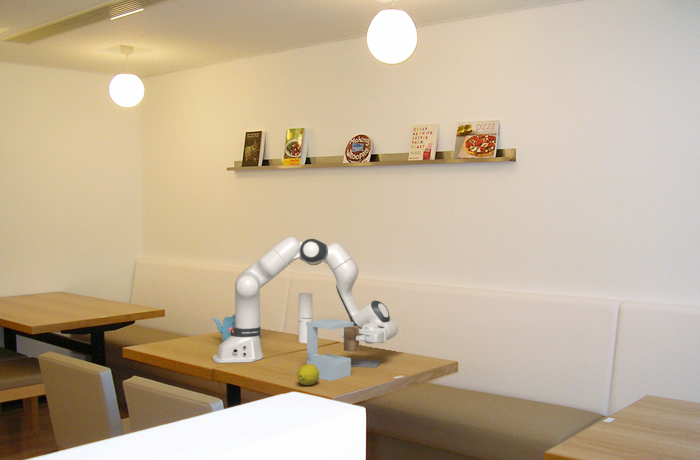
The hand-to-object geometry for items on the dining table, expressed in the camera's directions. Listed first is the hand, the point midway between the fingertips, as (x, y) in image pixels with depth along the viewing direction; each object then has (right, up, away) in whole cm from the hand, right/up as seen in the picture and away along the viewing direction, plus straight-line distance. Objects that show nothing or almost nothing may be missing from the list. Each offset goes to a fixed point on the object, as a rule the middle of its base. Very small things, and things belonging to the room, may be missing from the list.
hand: (350, 337), depth 262 cm
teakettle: (-58, -13, +56) cm, 82 cm away
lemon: (-16, -14, -25) cm, 33 cm away
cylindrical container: (-23, -13, +62) cm, 67 cm away
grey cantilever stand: (-8, -14, -8) cm, 18 cm away
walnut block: (+1, -5, +1) cm, 6 cm away
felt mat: (+7, -13, +12) cm, 19 cm away
